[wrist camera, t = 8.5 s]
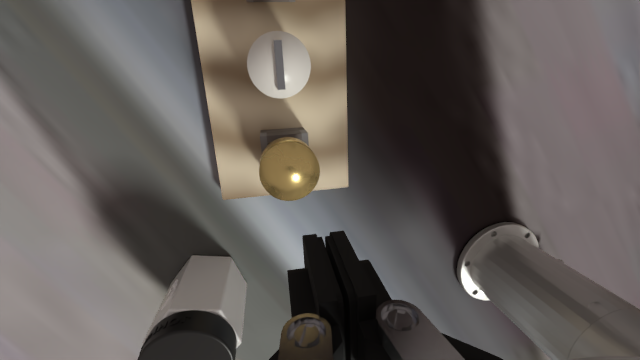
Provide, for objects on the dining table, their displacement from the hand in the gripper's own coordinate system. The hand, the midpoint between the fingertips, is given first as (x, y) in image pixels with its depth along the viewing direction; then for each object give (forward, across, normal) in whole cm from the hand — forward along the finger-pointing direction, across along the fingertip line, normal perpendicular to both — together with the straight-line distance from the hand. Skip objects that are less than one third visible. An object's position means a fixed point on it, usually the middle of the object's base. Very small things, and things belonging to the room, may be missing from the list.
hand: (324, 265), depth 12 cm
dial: (+21, +1, -8) cm, 23 cm away
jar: (+23, +11, +16) cm, 30 cm away
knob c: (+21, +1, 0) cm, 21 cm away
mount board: (+23, +1, -8) cm, 25 cm away
